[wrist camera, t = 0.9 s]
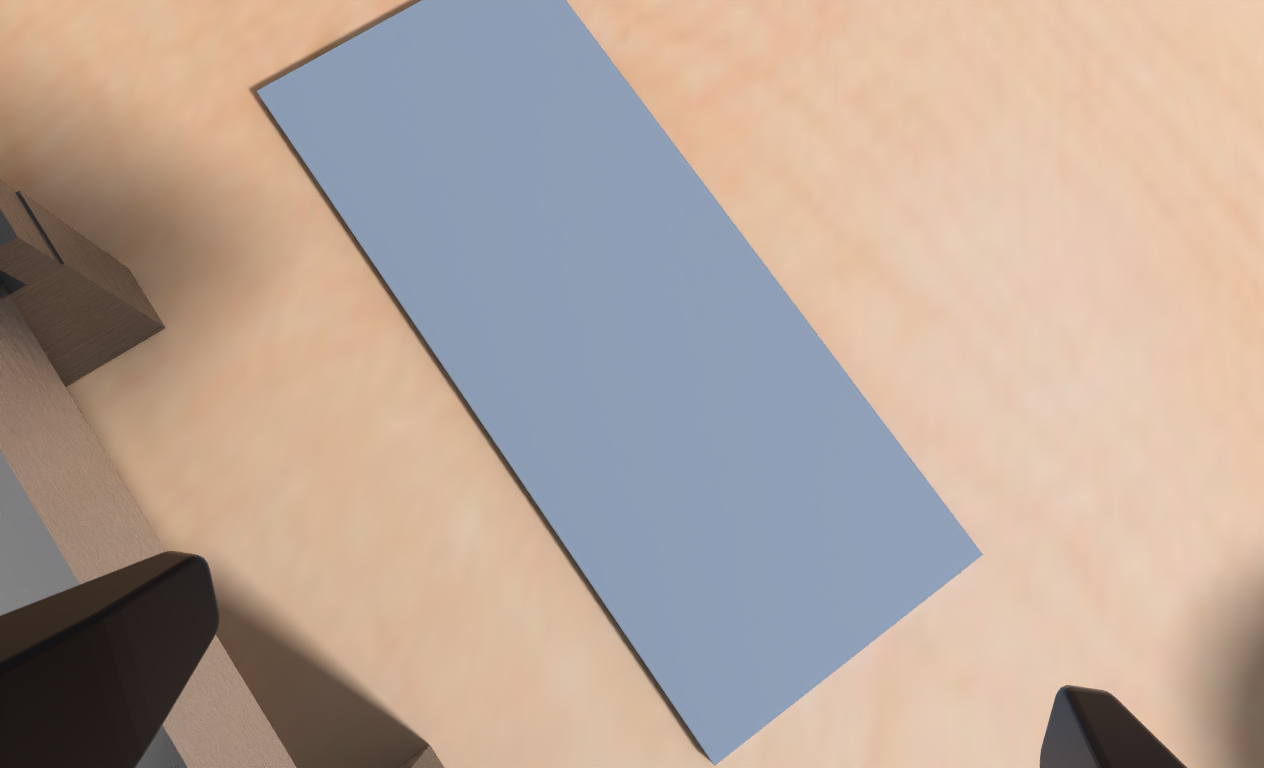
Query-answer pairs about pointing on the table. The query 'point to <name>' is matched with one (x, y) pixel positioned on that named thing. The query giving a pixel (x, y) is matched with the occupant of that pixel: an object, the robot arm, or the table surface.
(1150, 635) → the table surface
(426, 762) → the stand
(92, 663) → the robot arm
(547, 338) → the mat
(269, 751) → the rail
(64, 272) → the stand
